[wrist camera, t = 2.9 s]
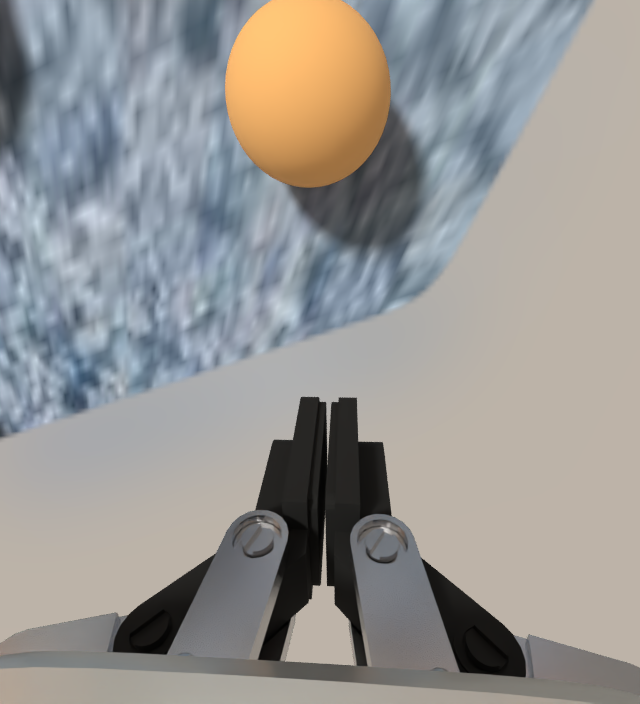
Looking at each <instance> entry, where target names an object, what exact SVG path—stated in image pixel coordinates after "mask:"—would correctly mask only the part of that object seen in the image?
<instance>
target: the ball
mask: <svg viewBox="0 0 640 704" xmlns="http://www.w3.org/2000/svg"><path fill="white" fill-rule="evenodd" d="M225 93H226V104H227V110H228V115H229V118H230V122H231V125H232V128H233V130H234V133H235V135H236V137H237V139H238V141H239V143H240V145H241V147H242V148H243V150H244V151H245V152H246V154H247V155H248V157H249V158H250V159H251V160H252V161H253V162H254V163H255V164H256V165H257V166H258V167H259V168H260V169H261V170H262V171H263V172H265V173H266V174H268V175H269V176H271V177H272V178H274V179H276V180H278V181H280V182H283V183H286V184H289V185H292V186H297V187H308V188H312V187H321V186H326V185H330V184H332V183H335V182H338V181H340V180H342V179H343V178H345V177H347V176H349V175H350V174H351V173H353V172H354V171H355V170H357V169H358V168H359V167H360V166H361V165H362V164H363V163H364V162H365V161H366V160H367V158H368V157H369V156H370V155H371V153H372V152H373V150H374V149H375V147H376V145H377V144H378V142H379V140H380V138H381V135H382V133H383V130H384V128H385V125H386V122H387V117H388V113H389V107H390V97H391V87H390V76H389V69H388V65H387V61H386V57H385V54H384V51H383V49H382V46H381V44H380V42H379V40H378V38H377V36H376V34H375V33H374V31H373V30H372V28H371V27H370V25H369V24H368V23H367V22H366V21H365V19H364V18H363V17H362V16H361V15H360V14H359V13H358V12H357V11H356V10H354V9H353V8H352V7H351V6H350V5H348V4H346V3H345V2H343V1H341V0H272V1H270V2H268V3H267V4H266V5H264V6H263V7H261V8H260V9H259V10H258V11H257V12H256V13H255V14H254V15H253V16H252V17H251V18H250V19H249V20H248V22H247V23H246V24H245V25H244V27H243V28H242V30H241V32H240V33H239V35H238V37H237V39H236V41H235V43H234V46H233V48H232V50H231V54H230V57H229V61H228V65H227V71H226V82H225Z"/></svg>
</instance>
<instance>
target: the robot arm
mask: <svg viewBox="0 0 640 704" xmlns="http://www.w3.org/2000/svg"><path fill="white" fill-rule="evenodd" d="M326 421H327V420H326V402H320V401H319V397H301V399H300V405H299V410H298V415H297V421H296V426H295V432H294V437H293V440H274V441H273V443H272V446H271V450H270V455H269V458H268V462H267V466H266V471H265V475H264V478H263V482H262V486H261V490H260V494H259V498H258V502H257V506H256V510H255V511H252V512H248V513H246V514H244V515H242V516H240V517H239V518H237V519H236V520H235V521H234V522H233V523H232V524H231V526H230V527H229V529H228V530H227V532H226V534H225V536H224V538H223V540H222V542H221V544H220V546H219V549H218V550H217V553H216V554H214V555H213V556H211V557H210V558H208V559H207V560H205V561H204V562H202V563H201V564H199V565H198V566H197V567H195V568H194V569H192V570H191V571H189V572H188V573H186V574H185V575H183V576H182V577H181V578H179V579H177V580H176V581H174V582H173V583H172V584H170V585H169V586H167V587H166V588H164V589H163V590H161V591H160V592H158V593H157V594H155V595H154V596H153V597H151V598H149V599H148V600H147V601H145V602H144V603H142V604H141V605H139V606H138V607H137V608H136V609H134V610H133V611H132V612H131V613H130V614H129V615H127V616H122V617H119V616H118V614H117V613H112V614H106V615H101V616H96V617H90V618H85V619H80V620H75V621H69V622H64V623H59V624H53V625H48V626H43V627H38V628H32V629H27V630H25V631H22V632H19V633H16V634H14V635H12V636H11V637H9V638H8V639H6V640H5V641H3V642H1V643H0V704H640V668H639V667H637V666H635V665H632V664H630V663H627V662H623V661H620V660H616V659H612V658H609V657H606V656H602V655H598V654H595V653H592V652H588V651H585V650H581V649H578V648H574V647H571V646H567V645H564V644H560V643H557V642H553V641H550V640H546V639H543V638H539V637H536V636H532V635H528V637H527V639H525V638H521V637H518V636H514V635H513V634H512V633H511V632H510V631H509V630H508V629H507V628H506V627H505V626H504V625H503V624H502V623H501V622H499V621H498V620H497V619H496V618H495V617H493V616H492V615H491V614H490V613H488V612H487V611H486V610H485V609H484V608H482V607H481V606H480V605H479V604H477V603H476V602H475V601H474V600H472V599H471V598H470V597H469V596H468V595H466V594H465V593H464V592H463V591H461V590H460V589H459V588H458V587H456V586H455V585H454V584H453V583H451V582H450V581H449V580H448V579H447V578H445V577H444V576H443V575H442V574H441V573H439V572H438V571H437V570H436V569H434V568H433V567H432V566H431V565H429V564H428V563H427V562H426V561H425V560H423V559H422V558H421V557H420V554H419V551H418V548H417V545H416V542H415V539H414V536H413V535H412V533H411V531H410V529H409V528H408V527H407V526H406V525H405V524H404V523H403V522H402V521H400V520H398V519H397V518H395V517H392V515H391V507H390V498H389V490H388V481H387V472H386V464H385V455H384V447H383V443H382V442H358V423H357V398H339V402H332V404H331V420H330V435H329V452H328V466H327V423H326ZM325 517H326V556H327V557H326V559H327V586H335V605H336V606H337V607H338V608H339V609H340V610H341V612H343V614H344V615H345V616H346V617H347V618H348V619H349V631H350V638H351V645H352V652H353V659H354V666H351V665H334V664H317V663H301V662H285V660H286V656H287V652H288V647H289V644H290V640H291V636H292V632H293V628H294V624H295V615H296V613H297V612H298V611H300V610H301V609H302V608H303V607H304V606H305V605H306V604H307V603H308V601H309V599H312V588H313V585H318V586H320V584H321V572H322V555H323V539H324V522H325Z"/></svg>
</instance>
